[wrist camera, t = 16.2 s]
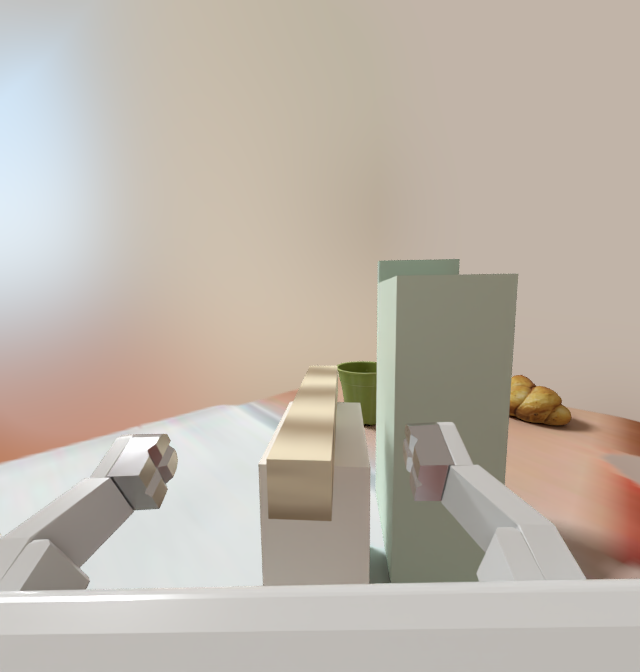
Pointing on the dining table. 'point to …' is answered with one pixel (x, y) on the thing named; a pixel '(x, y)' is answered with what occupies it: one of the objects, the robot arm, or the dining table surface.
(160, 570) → the dining table surface
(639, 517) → the dining table surface
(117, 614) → the robot arm
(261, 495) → the block
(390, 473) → the pale green block
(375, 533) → the dining table surface
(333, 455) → the rail
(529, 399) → the bread roll
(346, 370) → the plant pot
